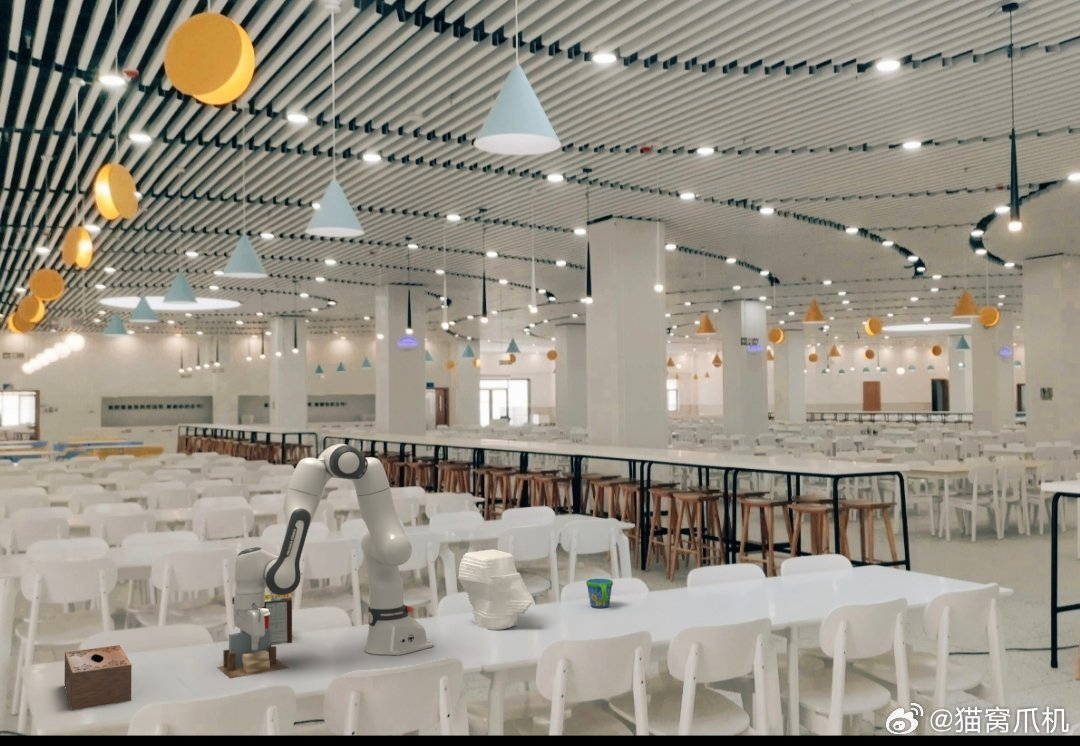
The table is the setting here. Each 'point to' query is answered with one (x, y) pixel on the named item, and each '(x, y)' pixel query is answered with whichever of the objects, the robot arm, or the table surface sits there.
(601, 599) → the snack cup
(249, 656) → the offcut upper
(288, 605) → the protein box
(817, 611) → the table surface
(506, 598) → the white faceted lump
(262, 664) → the offcut lower
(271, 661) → the rack
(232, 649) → the panel
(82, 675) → the tissue box cover
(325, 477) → the robot arm
